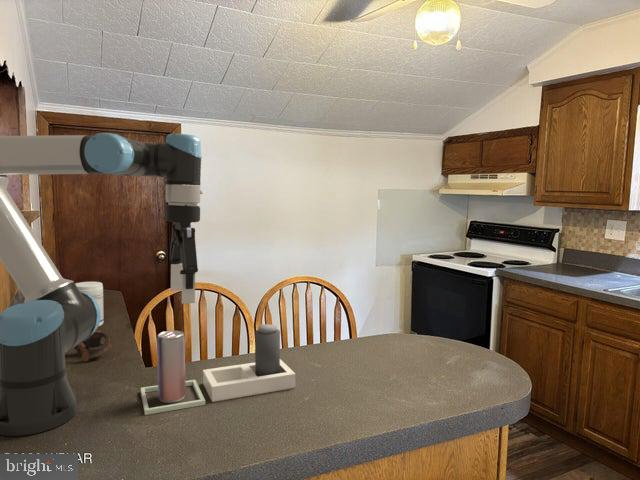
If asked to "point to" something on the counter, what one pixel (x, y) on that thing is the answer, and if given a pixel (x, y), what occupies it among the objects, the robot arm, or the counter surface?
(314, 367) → the counter surface
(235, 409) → the counter surface
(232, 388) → the white divided tray
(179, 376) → the beverage can
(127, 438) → the counter surface
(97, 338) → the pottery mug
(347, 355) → the counter surface
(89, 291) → the supplement tub
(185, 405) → the rectangular frame
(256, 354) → the single round plug
